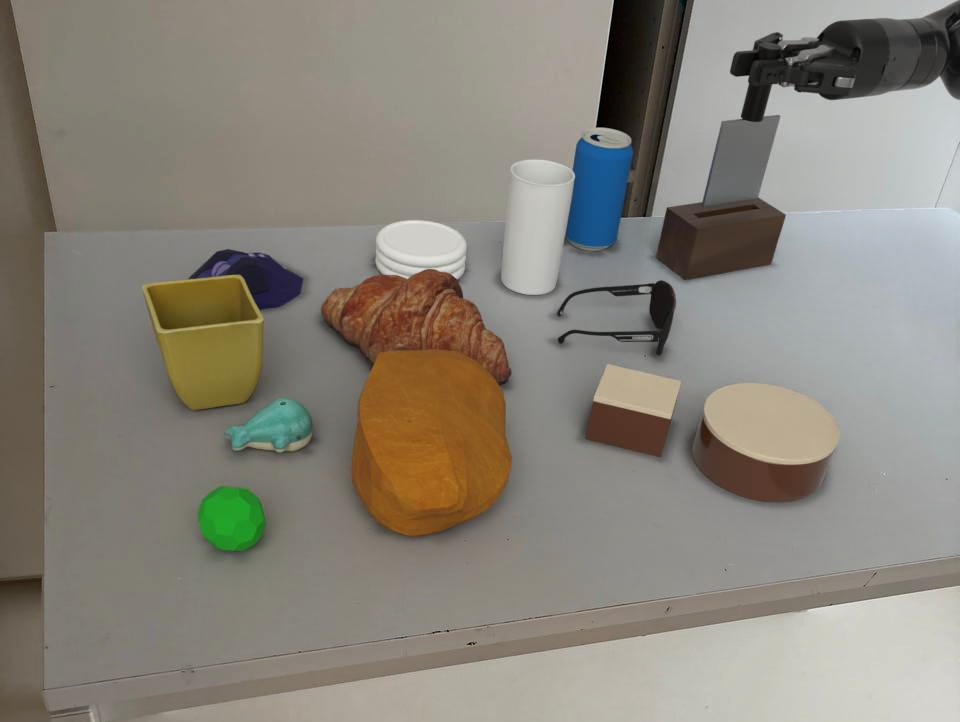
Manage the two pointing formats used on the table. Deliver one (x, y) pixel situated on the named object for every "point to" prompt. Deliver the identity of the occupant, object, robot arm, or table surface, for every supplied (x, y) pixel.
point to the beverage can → (598, 188)
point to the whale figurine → (274, 428)
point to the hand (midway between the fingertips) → (743, 69)
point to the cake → (764, 442)
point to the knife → (744, 145)
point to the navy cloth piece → (254, 276)
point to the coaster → (420, 249)
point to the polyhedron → (231, 518)
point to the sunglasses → (659, 311)
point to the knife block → (719, 237)
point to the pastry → (414, 319)
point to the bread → (429, 441)
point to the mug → (535, 225)
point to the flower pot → (208, 338)
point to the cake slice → (633, 410)
